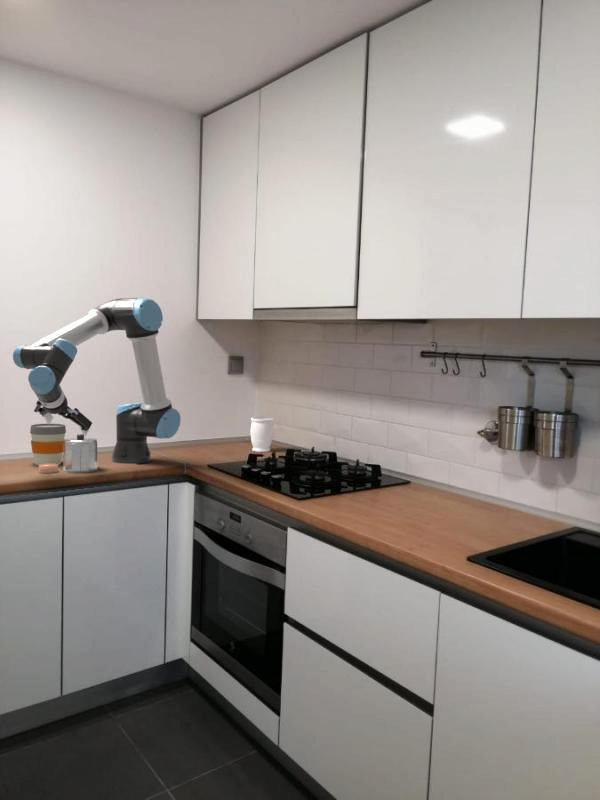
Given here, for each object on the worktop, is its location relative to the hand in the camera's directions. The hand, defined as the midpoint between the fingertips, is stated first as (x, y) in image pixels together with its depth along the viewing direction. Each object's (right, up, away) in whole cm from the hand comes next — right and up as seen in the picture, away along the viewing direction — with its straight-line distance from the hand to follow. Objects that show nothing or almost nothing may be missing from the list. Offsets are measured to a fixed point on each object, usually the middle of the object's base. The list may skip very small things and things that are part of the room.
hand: (68, 426), depth 223 cm
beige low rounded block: (-7, -17, 0) cm, 18 cm away
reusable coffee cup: (-13, -15, +15) cm, 25 cm away
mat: (+2, -16, +6) cm, 17 cm away
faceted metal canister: (+2, -16, +6) cm, 17 cm away
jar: (+64, -14, +66) cm, 93 cm away
